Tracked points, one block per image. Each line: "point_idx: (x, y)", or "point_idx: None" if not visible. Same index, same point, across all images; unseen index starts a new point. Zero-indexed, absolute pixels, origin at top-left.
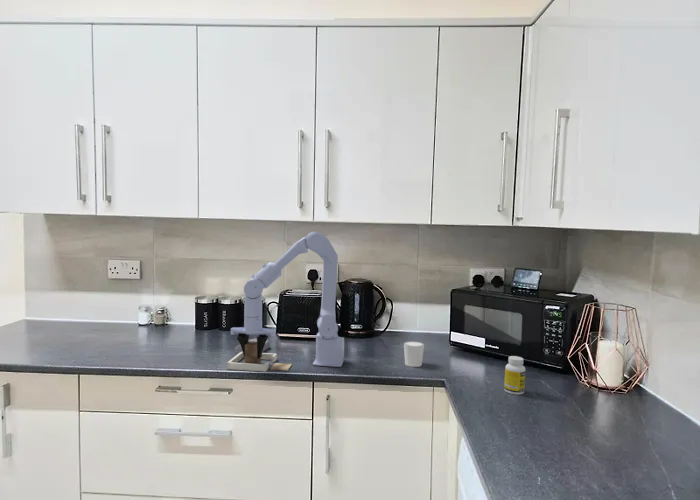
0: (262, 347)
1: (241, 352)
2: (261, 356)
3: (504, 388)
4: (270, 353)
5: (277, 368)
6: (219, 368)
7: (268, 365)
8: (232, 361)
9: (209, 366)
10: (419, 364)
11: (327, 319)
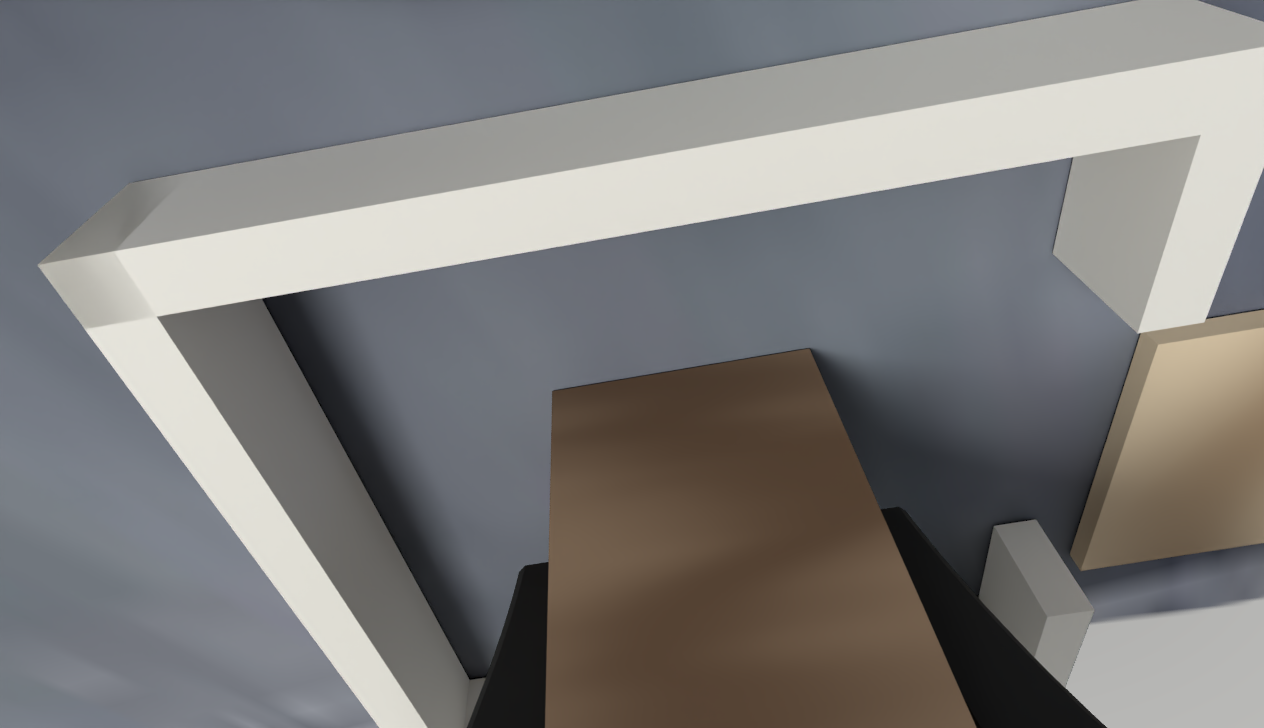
0: (1035, 719)
1: (135, 328)
2: (906, 515)
3: None
4: (1080, 98)
5: (1201, 543)
6: (329, 711)
7: (1059, 570)
8: (429, 709)
9: (131, 708)
10: None
11: None
